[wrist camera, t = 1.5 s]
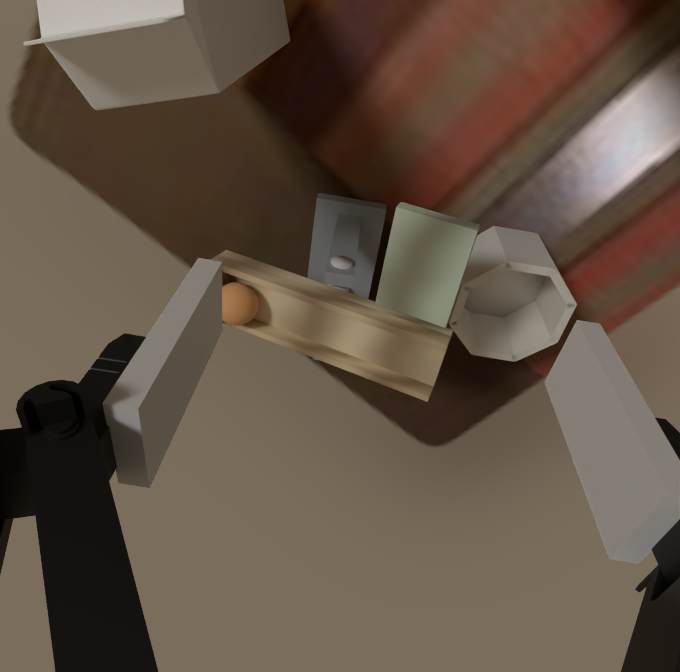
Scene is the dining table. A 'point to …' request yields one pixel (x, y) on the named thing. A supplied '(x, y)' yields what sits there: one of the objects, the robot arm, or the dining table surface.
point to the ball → (238, 303)
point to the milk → (159, 45)
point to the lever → (370, 304)
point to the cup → (510, 297)
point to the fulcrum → (346, 243)
